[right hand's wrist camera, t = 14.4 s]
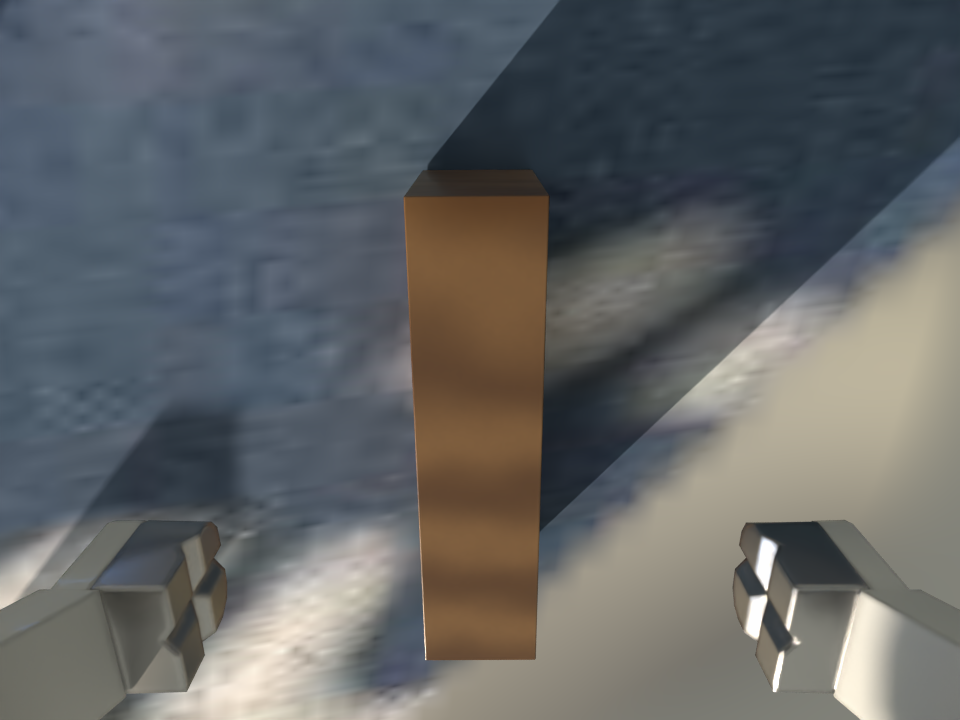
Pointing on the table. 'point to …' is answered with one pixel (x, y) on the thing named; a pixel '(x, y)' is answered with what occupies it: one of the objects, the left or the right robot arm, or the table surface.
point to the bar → (478, 404)
